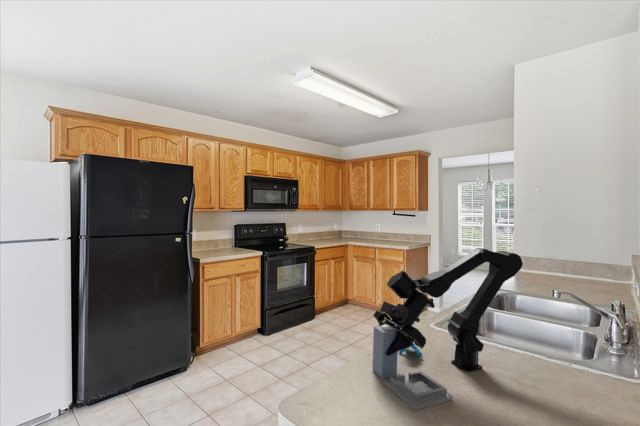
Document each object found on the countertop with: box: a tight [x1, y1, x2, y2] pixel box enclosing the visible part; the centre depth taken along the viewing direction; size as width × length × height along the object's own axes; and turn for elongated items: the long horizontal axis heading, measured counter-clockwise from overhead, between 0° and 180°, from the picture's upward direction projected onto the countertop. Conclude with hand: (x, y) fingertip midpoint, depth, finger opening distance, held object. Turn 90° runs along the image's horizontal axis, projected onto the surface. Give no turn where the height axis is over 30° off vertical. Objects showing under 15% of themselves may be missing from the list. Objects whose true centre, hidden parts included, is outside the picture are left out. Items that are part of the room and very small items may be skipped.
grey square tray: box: [384, 370, 454, 411], centre depth 83 cm, size 12×12×2 cm
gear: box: [398, 342, 423, 357], centre depth 106 cm, size 11×6×10 cm
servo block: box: [372, 325, 398, 380], centre depth 92 cm, size 5×5×14 cm
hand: (380, 350), depth 92 cm, fingers closed on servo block, 5 cm apart
